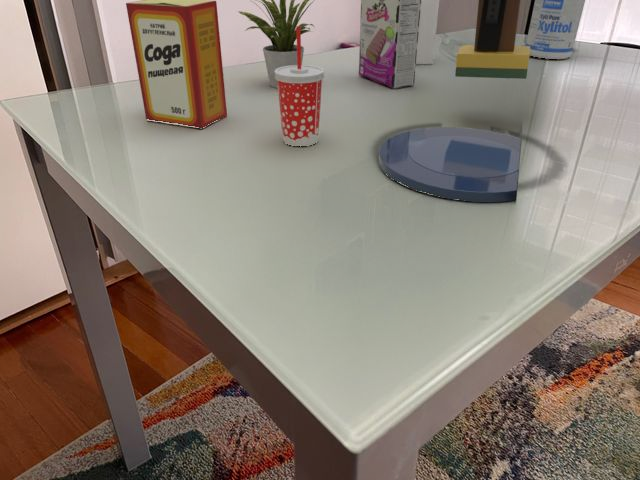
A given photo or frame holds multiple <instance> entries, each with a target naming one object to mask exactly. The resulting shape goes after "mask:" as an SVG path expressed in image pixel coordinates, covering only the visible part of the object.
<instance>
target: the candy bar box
mask: <svg viewBox="0 0 640 480" xmlns="http://www.w3.org/2000/svg"><path fill="white" fill-rule="evenodd" d="M420 9H421V0H360V21H359V22H360V23H359V25H360V31H359V58H358V59H359V60H358V61H359V62H358V76H359V77H362V78H365V79H367V80H369V81H371V82H375V83H377V84H380V85H382V86H386V87H388V88H390V89H393V90H396V89H397V90H398V89H403V88H408V87H412V86H415V78H416V67H417V65H416V56H417V45H418V34H419V21H420Z"/></svg>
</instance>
